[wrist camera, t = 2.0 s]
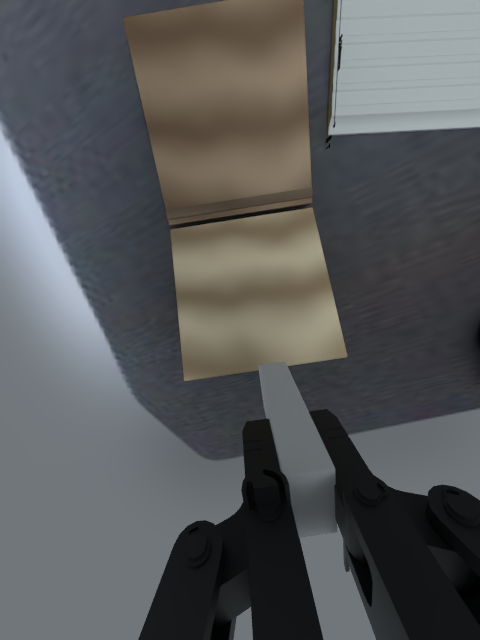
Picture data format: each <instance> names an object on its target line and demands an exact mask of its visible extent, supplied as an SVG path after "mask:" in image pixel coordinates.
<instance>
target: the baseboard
mask: <svg viewBox="0 0 480 640" xmlns="http://www.w3.org/2000/svg"><path fill="white" fill-rule="evenodd" d="M473 128H480V0H334V7H333V27H332V47H331V67H330V87H329V107H328V127H327V136H329V137H328V138H326V139H327V140H326V143H327V142H328V141H329V140H330V139H331V137H332V136H342V135H360V134H379V133H398V132H417V131H435V130H454V129H473ZM328 147H329V148H330V143H329V146H328ZM328 147H327V148H328ZM327 148H326V149H327Z"/></svg>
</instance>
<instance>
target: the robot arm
mask: <svg viewBox="0 0 480 640" xmlns="http://www.w3.org/2000/svg"><path fill="white" fill-rule="evenodd" d="M258 368H259V375H260V382H261V389H262V397H263V404H264V410H265V414H266V419H262V420H255V421H248V422H246V424H245V427H244V429H243V431H242V433H243V449H244V463H245V479H244V480H243V485H242V495H243V501H244V502H243V504H242V505H241V507H240V509H239V510H238V511H237V512H236V513H235V514H234V515H232V516H231V517H230V518H228V519H226V520H224V521H223V522H221V523H219V524H217V525H214V524H213V523H211V522H208V521H196V522H194V523H192V524H191V525H189V526H187V527H186V528H185V529H184V530H183V531H182V532H181V534H180V535H179V537H178V539H177V540H176V542H175V544H174V547H173V549H172V552H171V554H170V557H169V560H168V562H167V565H166V568H165V570H164V573H163V576H162V578H161V581H160V584H159V586H158V589H157V591H156V594H155V597H154V599H153V602H152V605H151V608H150V610H149V613H148V615H147V618H146V621H145V624H144V626H143V629H142V631H141V634H140V637H139V640H233V638H234V631H235V624H236V617H237V616H238V615H240V614H241V613H242V612H244V611H245V610H247V609H248V608H250V607H251V611H252V628H253V640H323V636H322V632H321V628H320V623H319V619H318V615H317V611H316V607H315V602H314V598H313V594H312V590H311V586H310V581H309V577H308V573H307V569H306V564H305V560H304V556H303V552H302V548H301V543H300V539H299V538H300V537H306V536H313V535H320V534H327V533H334V532H337V524H338V526H339V528H340V531H341V534H342V537H343V545H344V565H345V570H346V572H347V571H349V566H350V569H351V572H352V575H353V577H354V580H355V583H356V585H357V588H358V591H359V594H360V596H361V599H362V602H363V604H364V607H365V610H366V613H367V615H368V618H369V621H370V624H371V626H372V629H373V632H374V634H375V637H376V640H480V500H478V499H477V498H475V497H474V496H472V495H471V494H469V493H468V492H466V491H463V490H461V489H459V488H456V487H453V486H447V485H438V486H433V487H432V488H431V489H430V490H429V492H428V496H425V495H419V494H413V493H408V492H403V491H399V490H395V489H393V488H391V487H389V486H387V485H386V484H385V483H384V482H383V481H382V480H380V479H379V478H377V477H376V476H374V475H373V474H372V473H371V471H370V470H369V469H368V467H367V465H366V464H365V462H364V460H363V459H362V457H361V456H360V454H359V452H358V451H357V449H356V448H355V446H354V444H353V443H352V441H351V439H350V438H349V437H348V435H347V433H346V431H345V430H344V429H343V426H342V425H341V423H340V422H339V420H338V418H337V417H336V416H335V415H334V414H332V413H331V412H330V411H328V410H327V409H324V410H318V411H311V412H308V409H307V407H306V405H305V403H304V401H303V399H302V397H301V394H300V392H299V390H298V388H297V386H296V384H295V382H294V380H293V377H292V375H291V373H290V371H289V369H288V367H287V365H286V362H285V361H284V362H277V363H271V364H264V365H258Z"/></svg>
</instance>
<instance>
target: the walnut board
mask: <svg viewBox="0 0 480 640" xmlns="http://www.w3.org/2000/svg"><path fill="white" fill-rule="evenodd" d="M123 22H124V26H125V30H126V35H127V39H128V44H129V48H130V53H131V57H132V62H133V66H134V70H135V75H136V79H137V84H138V88H139V93H140V97H141V102H142V106H143V111H144V115H145V119H146V124H147V128H148V133H149V137H150V142H151V146H152V151H153V155H154V160H155V164H156V168H157V173H158V177H159V182H160V186H161V191H162V195H163V200H164V204H165V208H166V210H165V212H166V216H167V219H168V222H169V225H171V226H180V225H187V224H193V223H199V222H206V221H212V220H219V219H225V218H232V217H238V216H245V215H251V214H257V213H264V212H270V211H277V210H283V209H290V208H296V207H303V206H307V205H309V204H311V203H312V197H313V187H312V185H311V161H310V138H309V115H308V92H307V69H306V46H305V22H304V0H226V1H220V2H213V3H207V4H201V5H195V6H189V7H183V8H177V9H171V10H165V11H159V12H153V13H147V14H141V15H135V16H129V17H123Z"/></svg>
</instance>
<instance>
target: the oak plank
mask: <svg viewBox="0 0 480 640" xmlns="http://www.w3.org/2000/svg"><path fill="white" fill-rule="evenodd" d="M170 233H171V243H172V254H173V265H174V275H175V286H176V297H177V308H178V318H179V329H180V340H181V351H182V361H183V372H184V381H189V380H195V379H202V378H209V377H216V376H223V375H229V374H236V373H243V372H250V371H257V370H259V368H258V365H264V364H271V363H277V362H284V361H285V362H286V365H287V366H291V365H297V364H304V363H311V362H318V361H324V360H331V359H338V358H345V357H347V352H346V348H345V344H344V340H343V335H342V331H341V327H340V322H339V318H338V314H337V310H336V305H335V301H334V297H333V293H332V288H331V284H330V280H329V276H328V271H327V267H326V263H325V259H324V254H323V250H322V246H321V242H320V237H319V233H318V229H317V225H316V220H315V216H314V212H313V208H306V209H299V210H293V211H286V212H280V213H273V214H267V215H260V216H254V217H248V218H241V219H235V220H228V221H222V222H215V223H209V224H202V225H196V226H189V227H183V228H177V229H170Z"/></svg>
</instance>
